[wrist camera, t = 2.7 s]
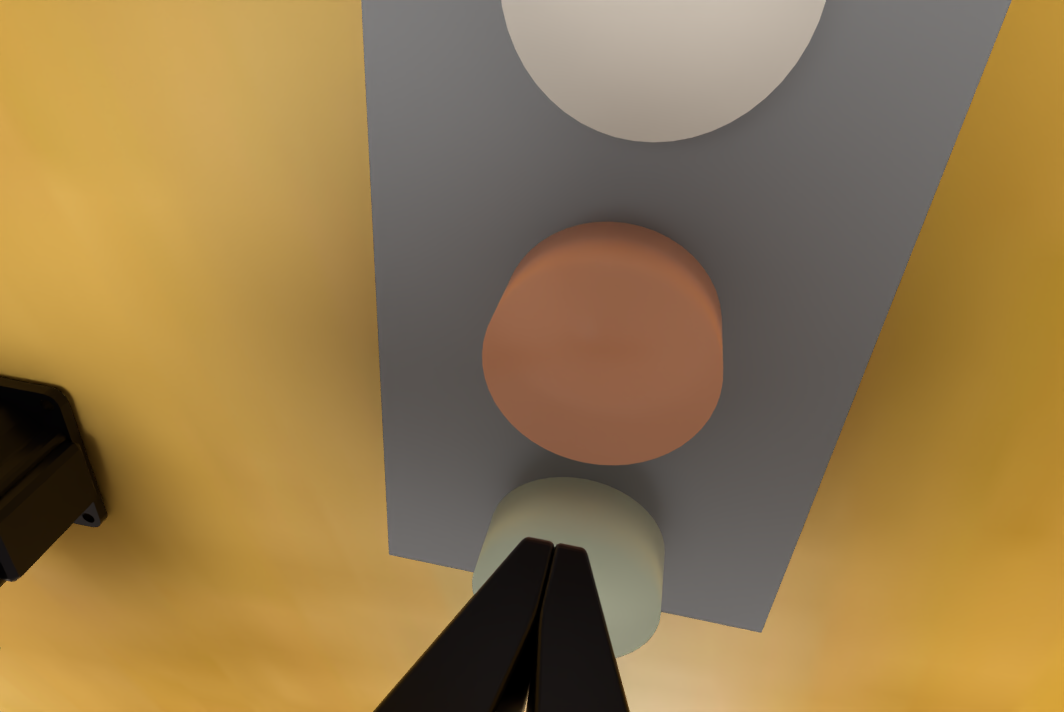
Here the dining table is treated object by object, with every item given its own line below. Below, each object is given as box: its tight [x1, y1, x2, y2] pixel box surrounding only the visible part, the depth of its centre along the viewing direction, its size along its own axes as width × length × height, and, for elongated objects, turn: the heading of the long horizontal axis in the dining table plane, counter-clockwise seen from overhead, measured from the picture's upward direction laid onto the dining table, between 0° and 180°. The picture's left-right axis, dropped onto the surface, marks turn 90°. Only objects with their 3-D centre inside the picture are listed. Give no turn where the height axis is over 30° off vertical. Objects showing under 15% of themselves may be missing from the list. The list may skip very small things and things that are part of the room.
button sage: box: [472, 477, 665, 658], centre depth 18 cm, size 4×4×2 cm
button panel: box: [361, 0, 1011, 632], centre depth 18 cm, size 11×20×3 cm, turn 175°
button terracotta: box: [482, 222, 723, 465], centre depth 14 cm, size 4×4×2 cm
